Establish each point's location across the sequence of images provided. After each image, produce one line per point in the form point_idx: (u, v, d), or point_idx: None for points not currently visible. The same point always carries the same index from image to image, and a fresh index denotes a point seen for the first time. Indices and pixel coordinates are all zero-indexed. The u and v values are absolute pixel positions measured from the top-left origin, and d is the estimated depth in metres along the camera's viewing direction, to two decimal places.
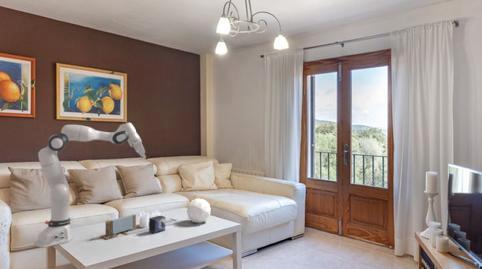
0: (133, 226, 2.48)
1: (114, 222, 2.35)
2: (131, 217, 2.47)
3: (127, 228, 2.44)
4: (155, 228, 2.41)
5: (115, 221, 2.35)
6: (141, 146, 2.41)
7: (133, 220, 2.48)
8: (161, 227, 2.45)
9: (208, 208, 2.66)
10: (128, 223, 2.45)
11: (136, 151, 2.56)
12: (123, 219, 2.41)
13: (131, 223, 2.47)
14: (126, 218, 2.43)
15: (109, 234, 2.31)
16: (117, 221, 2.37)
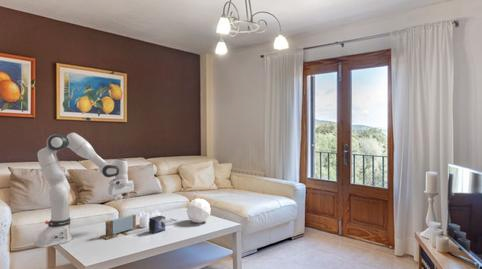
0: (133, 226, 2.48)
1: (114, 222, 2.35)
2: (131, 217, 2.47)
3: (127, 228, 2.44)
4: (155, 228, 2.41)
5: (115, 221, 2.35)
6: (111, 188, 2.38)
7: (133, 220, 2.48)
8: (161, 227, 2.45)
9: (208, 208, 2.66)
10: (128, 223, 2.45)
11: None
12: (123, 219, 2.41)
13: (131, 223, 2.47)
14: (126, 218, 2.43)
15: (109, 234, 2.31)
16: (117, 221, 2.37)
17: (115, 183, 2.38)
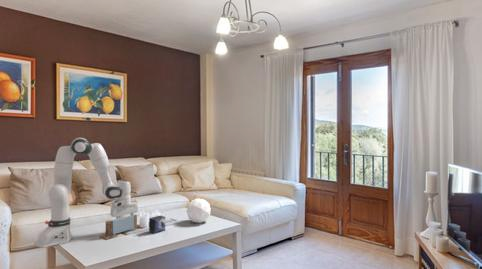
0: (134, 226, 2.48)
1: (114, 222, 2.35)
2: (132, 217, 2.46)
3: (128, 228, 2.43)
4: (155, 228, 2.41)
5: (115, 221, 2.35)
6: (113, 209, 2.37)
7: (134, 220, 2.48)
8: (161, 227, 2.45)
9: (208, 208, 2.66)
10: (129, 223, 2.44)
11: None
12: (123, 219, 2.40)
13: (132, 223, 2.46)
14: (127, 218, 2.43)
15: (109, 234, 2.31)
16: (117, 221, 2.37)
17: (116, 205, 2.37)
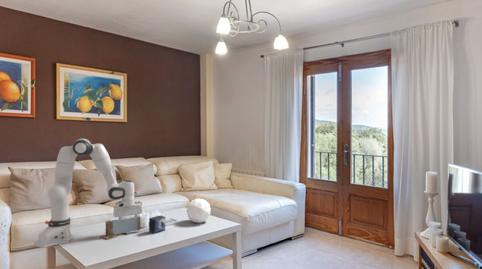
0: (137, 228, 2.43)
1: (114, 222, 2.34)
2: (135, 219, 2.42)
3: (130, 230, 2.40)
4: (155, 228, 2.41)
5: (116, 222, 2.34)
6: (115, 210, 2.35)
7: (137, 222, 2.43)
8: (161, 227, 2.45)
9: (208, 208, 2.66)
10: (131, 225, 2.41)
11: None
12: (125, 220, 2.38)
13: (135, 225, 2.42)
14: (129, 219, 2.40)
15: (109, 234, 2.31)
16: (118, 222, 2.35)
17: (118, 205, 2.35)
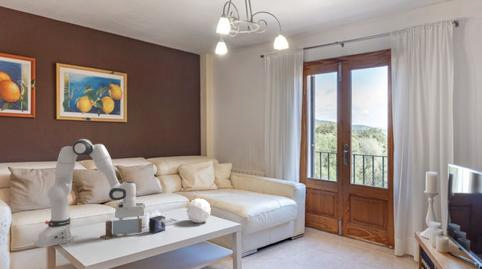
0: (138, 230, 2.38)
1: (114, 223, 2.32)
2: (136, 221, 2.37)
3: (131, 231, 2.36)
4: (155, 228, 2.41)
5: (115, 222, 2.33)
6: None
7: (138, 224, 2.38)
8: (161, 227, 2.45)
9: (208, 208, 2.66)
10: (132, 226, 2.36)
11: None
12: (125, 222, 2.35)
13: (136, 227, 2.37)
14: (129, 221, 2.36)
15: (109, 234, 2.31)
16: (118, 222, 2.33)
17: (118, 206, 2.33)
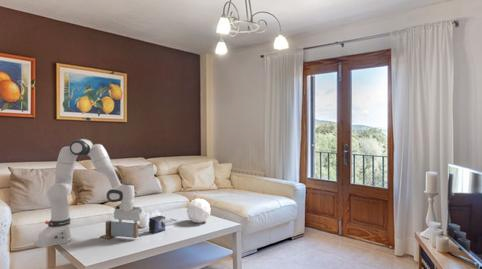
0: (133, 236, 2.26)
1: (112, 224, 2.30)
2: (131, 225, 2.27)
3: (126, 235, 2.28)
4: (155, 228, 2.41)
5: (113, 223, 2.30)
6: None
7: (133, 229, 2.27)
8: (161, 227, 2.45)
9: (208, 208, 2.66)
10: (127, 230, 2.28)
11: None
12: (122, 224, 2.29)
13: (131, 232, 2.27)
14: (125, 224, 2.28)
15: (109, 234, 2.31)
16: (115, 224, 2.30)
17: (115, 207, 2.29)
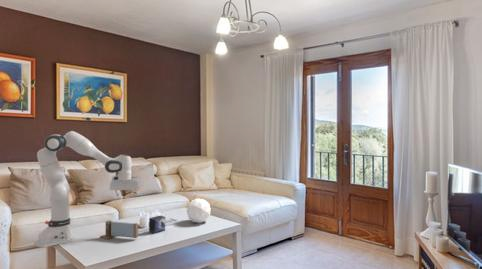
0: (133, 236, 2.26)
1: (112, 224, 2.30)
2: (131, 225, 2.27)
3: (126, 235, 2.28)
4: (155, 228, 2.41)
5: (113, 223, 2.30)
6: None
7: (133, 229, 2.27)
8: (161, 227, 2.45)
9: (208, 208, 2.66)
10: (127, 230, 2.28)
11: None
12: (122, 224, 2.29)
13: (131, 232, 2.27)
14: (125, 224, 2.28)
15: (109, 234, 2.31)
16: (115, 224, 2.30)
17: (113, 178, 2.35)
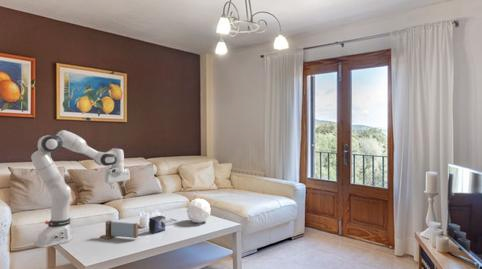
0: (133, 236, 2.26)
1: (112, 224, 2.30)
2: (131, 225, 2.27)
3: (126, 235, 2.28)
4: (155, 228, 2.41)
5: (113, 223, 2.30)
6: (107, 175, 2.43)
7: (133, 229, 2.27)
8: (161, 227, 2.45)
9: (208, 208, 2.66)
10: (127, 230, 2.28)
11: None
12: (122, 224, 2.29)
13: (131, 232, 2.27)
14: (125, 224, 2.28)
15: (109, 234, 2.31)
16: (115, 224, 2.30)
17: (111, 171, 2.43)
